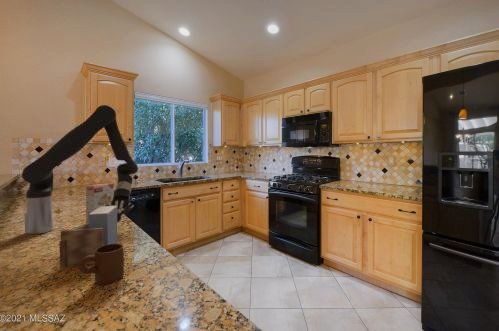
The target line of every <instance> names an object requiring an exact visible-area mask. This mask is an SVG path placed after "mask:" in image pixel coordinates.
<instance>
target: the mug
mask: <svg viewBox="0 0 499 331" xmlns="http://www.w3.org/2000/svg"><path fill="white" fill-rule="evenodd" d="M124 254H125V252H124V246H123V244H121V243H117V244H109V245H104V246H101V247H99V248H97V249H96V250H95V256H91V255H89V256H86V257H84V258H83V259H81V261H80V262H79V264H78V265H77V267H78V268H77V269H78V271H79V272H80V273H82V274H84V275H86V274H87V275H88V274H94V281H95V283H96V284H98V285H109V284H112V283H116V282H118V281H120V279H122V278H123V277H124V275H125V256H124ZM87 261H95V263H94V265H92V266H86V264H85V263H86V262H87Z"/></svg>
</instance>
